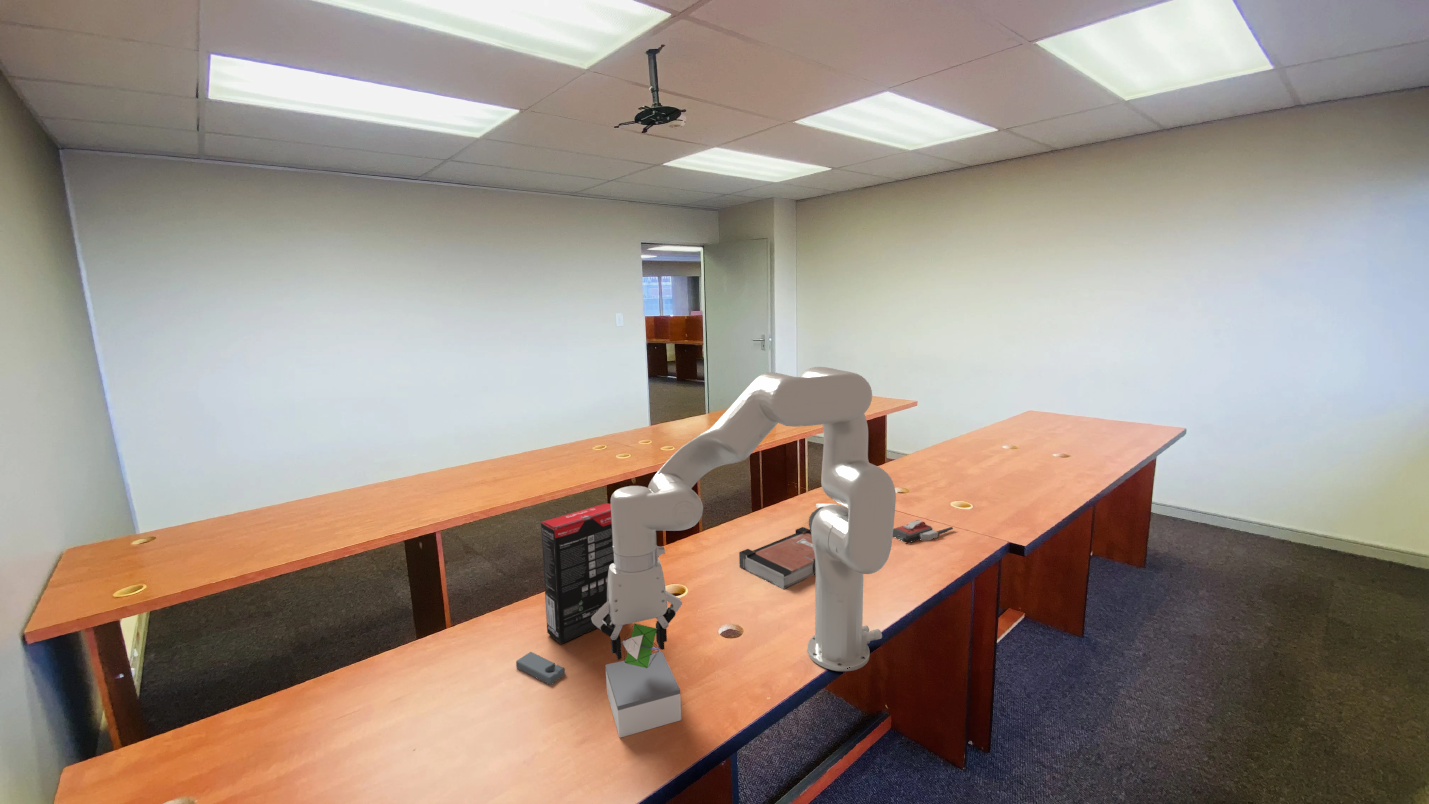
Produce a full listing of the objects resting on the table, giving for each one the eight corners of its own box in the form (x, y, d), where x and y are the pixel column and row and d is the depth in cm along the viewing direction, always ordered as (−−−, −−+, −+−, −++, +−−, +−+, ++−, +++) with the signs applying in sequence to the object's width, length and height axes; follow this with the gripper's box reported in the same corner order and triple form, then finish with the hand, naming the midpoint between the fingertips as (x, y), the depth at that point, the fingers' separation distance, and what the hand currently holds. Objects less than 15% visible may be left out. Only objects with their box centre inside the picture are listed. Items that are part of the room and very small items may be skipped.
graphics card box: (610, 606, 139) (604, 499, 134) (627, 616, 134) (621, 506, 129) (546, 635, 127) (537, 519, 122) (562, 648, 122) (553, 528, 117)
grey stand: (663, 679, 111) (661, 651, 110) (681, 720, 100) (680, 689, 99) (607, 693, 107) (605, 664, 106) (619, 737, 96) (617, 706, 95)
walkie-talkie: (910, 548, 168) (955, 533, 177) (910, 534, 167) (955, 520, 177) (887, 537, 175) (931, 524, 185) (888, 524, 174) (932, 511, 184)
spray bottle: (808, 534, 180) (810, 508, 204) (843, 536, 178) (841, 509, 201) (808, 525, 179) (810, 500, 203) (843, 527, 177) (841, 501, 201)
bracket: (531, 659, 119) (530, 650, 119) (565, 676, 113) (565, 667, 113) (516, 669, 116) (515, 660, 116) (550, 687, 110) (549, 678, 110)
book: (785, 592, 144) (785, 573, 143) (739, 569, 157) (739, 552, 157) (849, 560, 161) (849, 544, 160) (802, 542, 174) (802, 526, 173)
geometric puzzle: (625, 633, 107) (629, 611, 102) (660, 641, 107) (666, 620, 102) (615, 671, 101) (618, 649, 96) (652, 679, 101) (658, 658, 96)
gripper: (676, 541, 105) (679, 629, 108) (581, 557, 99) (587, 649, 102) (689, 557, 98) (692, 651, 101) (587, 576, 92) (593, 674, 95)
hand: (639, 649), depth 102 cm, fingers closed on geometric puzzle, 7 cm apart
